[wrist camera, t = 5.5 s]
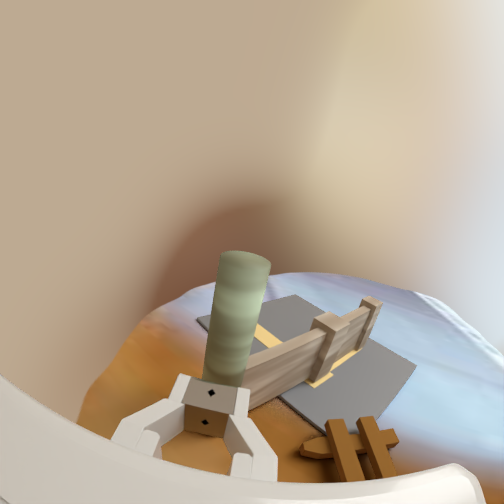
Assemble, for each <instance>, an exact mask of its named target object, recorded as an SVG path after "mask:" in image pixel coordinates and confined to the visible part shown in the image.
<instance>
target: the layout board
mask: <svg viewBox="0 0 504 504" xmlns="http://www.w3.org/2000/svg"><path fill="white" fill-rule="evenodd" d="M324 313H326V312H324V311H322V310H321V309H319V308H317V307H316V306H314V305H312V304H311V303H309V302H307V301H306V300H304V299H302V298H301V297H299V296H297V295H296V294H295V295H291V296H288V297H284V298H280V299H276V300H272V301H268V302H264V303H262V305H261V309H260V313H259V318H258V322H257V326H256V330H255V334H254V338H253V342H252V346H251V350H250V354H249V356H250V355H253V354H255V353H258V352H261V351H263V350H266V349H268V348H271V347H273V346H276V345H278V344H281V343H283V342H286V341H288V340H290V339H293V338H295V337H297V336H300V335H302V334H304V333H307V332H309V331H310V328H311V325H312V322H313V319H314V317H317V316H319V315H322V314H324ZM210 317H211V315H207V316H202V317H197V321H198V322H199V323H200V324H201V325H202V326H203V327H204V328H205V329H206V330H207V331H209V324H210ZM416 366H417V365H415V364H413V363H412V362H410V361H408V360H406V359H405V358H403V357H401V356H399V355H398V354H396V353H394V352H393V351H391V350H389V349H387V348H386V347H384V346H382V345H380V344H379V343H377V342H375V341H374V340H372V339H370V338H368V339H367V342H366V344H365V346H364V347H363V348H361V349H360V350H358V351H356V350H352V351H351V352H350V353H348V354H347V355H345V356H344V357H342V358H341V359H339V360H338V361H336V362H335V363H333V366H332V368H331V370H330V372H329V373H328V374H327V375H325V376H324V377H322V378H321V379H319V380H318V381H316V382H315V383H314V382H313V381H311V380H310V379H309V378H308V379H306V380H304V381H303V382H301V383H299V384H297V385H296V386H294V387H292V388H291V389H289V390H287V391H285V392H283V393H282V394H280V395H278V397H279V398H280V399H281V400H283V401H284V402H285V403H286V404H287V405H289V406H290V407H291V408H292V409H293V410H295V411H296V412H297V413H298V414H300V415H301V416H302V417H303V418H304V419H306V420H307V421H308V422H310V423H311V424H312V425H313V426H315V427H316V428H317V429H318V430H320V431H321V432H322V433H324V434H325V435H326V436H327V433H326V430H325V426H324V424H325V423H326V421H327V420H328V419H344V422H345V424H346V427H347V430H348V432H349V435H352V434H360V433H359V430H358V428H357V425H356V422H357V420H358V419H359V417H367V416H374V419H375V421H376V420H377V419H378V417H379V416H380V415H381V414H382V413H383V411H384V410H385V409H386V408H387V406H388V405H389V404H390V403H391V401H392V400H393V399H394V397H395V396H396V395H397V394H398V392H399V391H400V389H401V388H402V387H403V385H404V384H405V383H406V381H407V380H408V378H409V377H410V375H411V374H412V373H413V371H414V370H415V368H416Z"/></svg>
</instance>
